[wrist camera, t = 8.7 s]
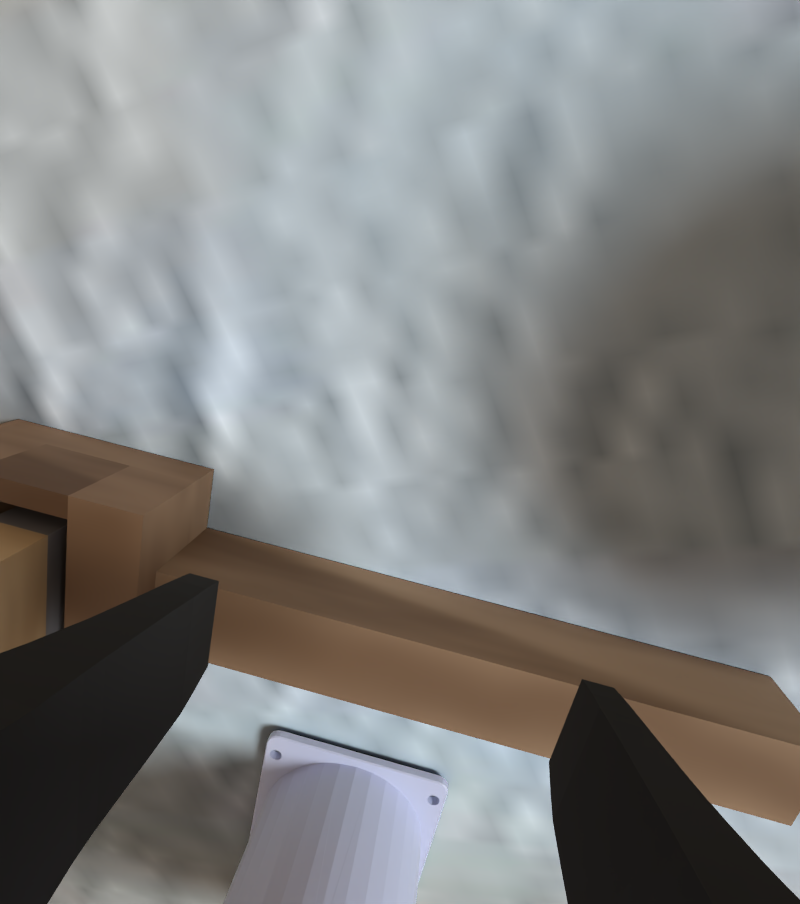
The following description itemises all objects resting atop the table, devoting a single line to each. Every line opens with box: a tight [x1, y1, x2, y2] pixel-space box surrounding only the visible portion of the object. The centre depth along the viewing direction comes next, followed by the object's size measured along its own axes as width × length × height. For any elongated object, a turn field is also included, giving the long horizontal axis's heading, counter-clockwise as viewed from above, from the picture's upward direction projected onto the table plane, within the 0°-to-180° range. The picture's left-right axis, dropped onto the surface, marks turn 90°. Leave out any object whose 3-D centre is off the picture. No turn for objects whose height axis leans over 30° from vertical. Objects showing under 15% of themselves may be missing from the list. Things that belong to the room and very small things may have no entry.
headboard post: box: [0, 419, 800, 826], centre depth 18 cm, size 8×30×4 cm, turn 78°
